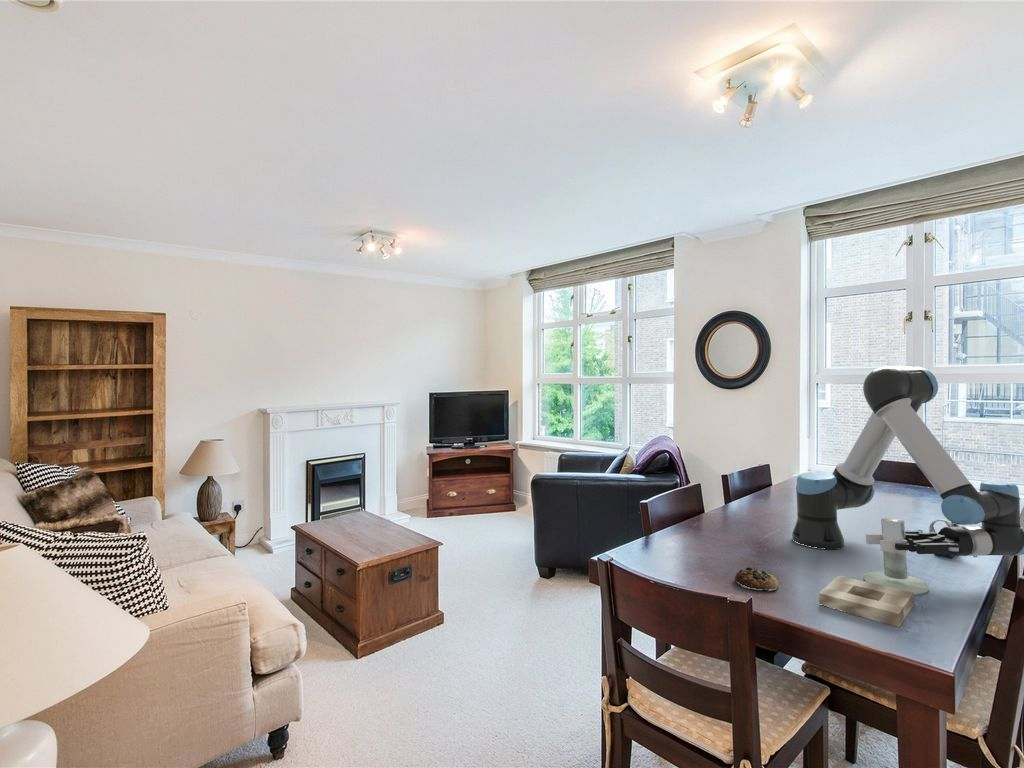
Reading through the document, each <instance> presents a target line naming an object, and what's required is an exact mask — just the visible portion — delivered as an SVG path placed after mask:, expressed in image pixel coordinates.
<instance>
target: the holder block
mask: <svg viewBox="0 0 1024 768" xmlns="http://www.w3.org/2000/svg"><path fill="white" fill-rule="evenodd" d="M818 603H819V604H822V605H825V606H828V607H831V608H835V609H839V610H842V611H845V612H844V613H846V612H849V613H851V614H850V615H853V614H854V616H857V617H860V616H861V618H865V619H868V620H872V621H875V622H880V623H883V624H886V625H890V626H893V627H897V628H899V627H900V626H901V625H902V623H903V622H904V621H905V619H906V618H907V616H908V615H909V613H910V611H911V610H912V608H913V607H914V606H915V595H914V592H909V591H905V590H900V589H896V588H892V587H887V586H883V585H878V584H874V583H870V582H865V581H864V580H860V579H857V578H856V579H855V578H851V577H848V576H842V575H837V577H836V578H834V579H833V580H832V581H831V582H830V583H829V584H827V585H826V586H825V587H824V588H823V589H822V590H820V591H819V593H818ZM831 608H830V609H831ZM835 609H834V610H835ZM842 611H841V612H842ZM849 613H848V614H849Z"/></svg>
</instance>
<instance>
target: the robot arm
mask: <svg viewBox="0 0 1024 768" xmlns="http://www.w3.org/2000/svg"><path fill="white" fill-rule="evenodd" d="M862 390H863V396H864V398H865V400H866V403H867V404H868V407H869V408H870V409H871V411H872V412H871V414H870V416H869V418H868V420H867V421H866V424H864V427H863V429H862V430H861V432H860V434H859V436H858V438H857V440H856V442H855V443H854V445H853V447H851V450H850V452H849V454H848V456H846V458H845V461H844V462H841V463H838V464H836V466H835V468H834V469H833V472H832V473H831V472H827V471H815V472H814V471H809V472H808V471H807V472H805V473H801V474H800V475H798V476H797V478H796V484H795V489H796V510H797V511H796V512H797V513H796V515H797V516H796V517H797V518H796V522H795V525H794V526H793V527H794V528H793V531H792V533H791V536H792V539H793V540H794V541H796V542H798V543H800V544H804V545H807V546H811V547H817V548H825V549H824V550H829V549H831V550H838V549H837V548H840V549H843V548H844V547H845V539H844V535H843V534H842V530H841V528H840V526H839V523H838V510H843V509H845V510H846V509H855V508H859V507H863V506H865V505H866V504H869V503H870V502H871V500H872V499H873V498H874V495H875V488H874V486H875V485H874V483H875V478H874V477H873V475H874V473H875V472H876V470H877V468H878V466H879V464H880V463H881V461H882V459H883V458H884V456H885V454H886V452H887V451H888V449H889V448H890V446H891V444H892V443H893V441H894V440H895V437H896V438H897V439H898V441H899V442H900V444H901V445H902V446H903V448H904V449H905V451H906V452H907V453H908V455H909V456H910V457H911V458H912V460H913V462H914V463H915V464H916V465H917V467H918V468H919V469H920V471H921V472H922V474H923V475H924V476H925V477H926V479H927V480H928V482H929V483H930V485H932V487H933V488H934V490H935V491H936V492H937V494H938V495H939V496H940V498H941V500H942V501H941V505H940V508H941V513H942V515H943V516H944V517H945V519H948V520H949V521H951V522H953V523H955V524H958V525H959V526H960V527H948V526H944V527H942V528H940V530H939V532H936V533H935V532H930V531H929V532H923V530H922V529H915V530H905V540H882V533H865V543H866V544H867V545H879V551H880V552H883V551H906V552H908V551H909V552H911V553H914V552H915V553H916V554H917V555H934V554H949V555H951V556H956V557H967V556H970V557H971V556H972V557H973V558H977V557H978V556H982V557H983V556H1008V557H1013V556H1023V555H1024V527H1023V526H1021V506H1020V504H1021V501H1020V500H1021V497H1020V491H1019V486H1018V485H1017V484H1015V483H1013V482H1008V481H1000V480H983V481H981V482H980V485H979V491H978V490H977V489H976V488H975V487H974V485H973V484H972V483H971V481H970V480H969V479H968V478H967V477H966V475H965V473H963V471H962V470H961V468H959V466H958V465H957V464H956V462H955V461H954V460H953V458H952V457H951V456H950V455H949V454H948V451H946V449H945V448H944V447H943V446H942V444H941V443H940V442H939V441H938V439H937V438H936V436H935V435H934V434H933V433H932V431H931V430H930V429H929V428H928V426H927V425H926V424H925V422H924V421H923V420H922V418H921V417H920V416H919V414H918V413H917V412H918V411H919V409H920V408H921V406H922V404H923V405H924V404H926V403H929V402H931V401H932V400H933V399H935V397H936V396H937V394H938V391H939V383H938V381H937V378H936V376H935V375H934V374H933V373H932V372H931V371H930V370H929V369H927V368H924V367H921V366H914V365H905V366H882V367H879V368H876V369H874V370H872V371H871V372H869V374H868V375H867V376H866V377H865V379H864V382H863V386H862ZM980 523H981V525H980V526H978V524H980ZM963 525H964V526H963ZM971 525H972V526H971ZM973 525H974V526H973ZM975 525H977V526H975ZM793 540H792V541H793ZM794 541H793V542H794ZM842 547H843V548H842Z"/></svg>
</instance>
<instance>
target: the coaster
mask: <svg viewBox="0 0 1024 768" xmlns="http://www.w3.org/2000/svg"><path fill="white" fill-rule="evenodd" d="M864 580H865V582H870V583H874V584H878V585H883V586H887V587H892V588H896V589H900V590H905V591H909V592H914V596H915V595H916V596H917V595H918V596H919V595H925V594H927V593H928V592H929V591H930V590H929V589H930V587H929V584H928V583H926V582H925V581H924V580H922V579H919V578H917V577H914V576H911V575H908V578H907V579H894V578H890V577H887V576H885V574H884V571H882V570H881V571H879V570H878V571H877V570H875V571H869V572H866V573H863V581H864Z"/></svg>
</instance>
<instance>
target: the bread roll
mask: <svg viewBox="0 0 1024 768" xmlns="http://www.w3.org/2000/svg"><path fill="white" fill-rule="evenodd" d="M734 580H736V581H737V582H739V583H740V584H742V585H745V586H747V587H750V588H756V589H767V590H769V589H775V588H777V587H779V581H778V580H777V577H775V576H774V575H773V574H768V572H767V571H765V570H759V569H758V568H755V567H754V568H752V567H749V566H748V567H746V568H745V569H740V570H739V571H737V572H736V574H735V575H734ZM736 581H735V582H736ZM737 582H736V583H737Z"/></svg>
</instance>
